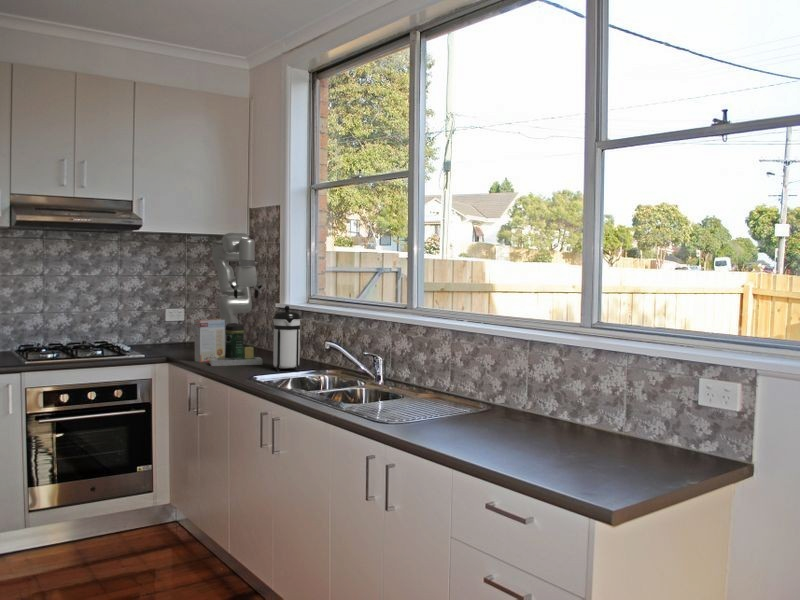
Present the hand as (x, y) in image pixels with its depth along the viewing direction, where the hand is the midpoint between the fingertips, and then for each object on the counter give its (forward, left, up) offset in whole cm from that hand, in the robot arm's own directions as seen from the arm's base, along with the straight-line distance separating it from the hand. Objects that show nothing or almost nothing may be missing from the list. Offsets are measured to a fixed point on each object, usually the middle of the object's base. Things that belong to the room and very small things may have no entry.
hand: (246, 298), depth 360 cm
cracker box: (-4, -17, -32) cm, 37 cm away
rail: (+11, -6, -32) cm, 34 cm away
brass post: (+10, 0, -31) cm, 33 cm away
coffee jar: (-10, -4, -32) cm, 34 cm away
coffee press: (+30, +14, -32) cm, 46 cm away
